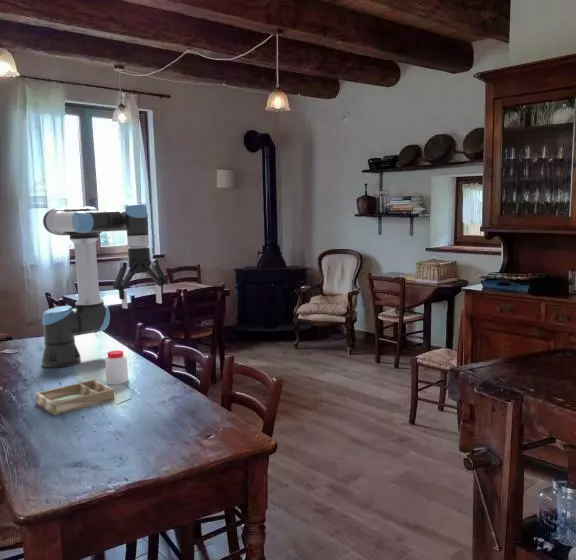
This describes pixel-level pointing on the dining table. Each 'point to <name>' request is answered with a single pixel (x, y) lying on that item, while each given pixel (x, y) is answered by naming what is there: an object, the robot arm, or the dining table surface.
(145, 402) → the dining table surface
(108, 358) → the pill bottle
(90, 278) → the robot arm
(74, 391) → the crate
